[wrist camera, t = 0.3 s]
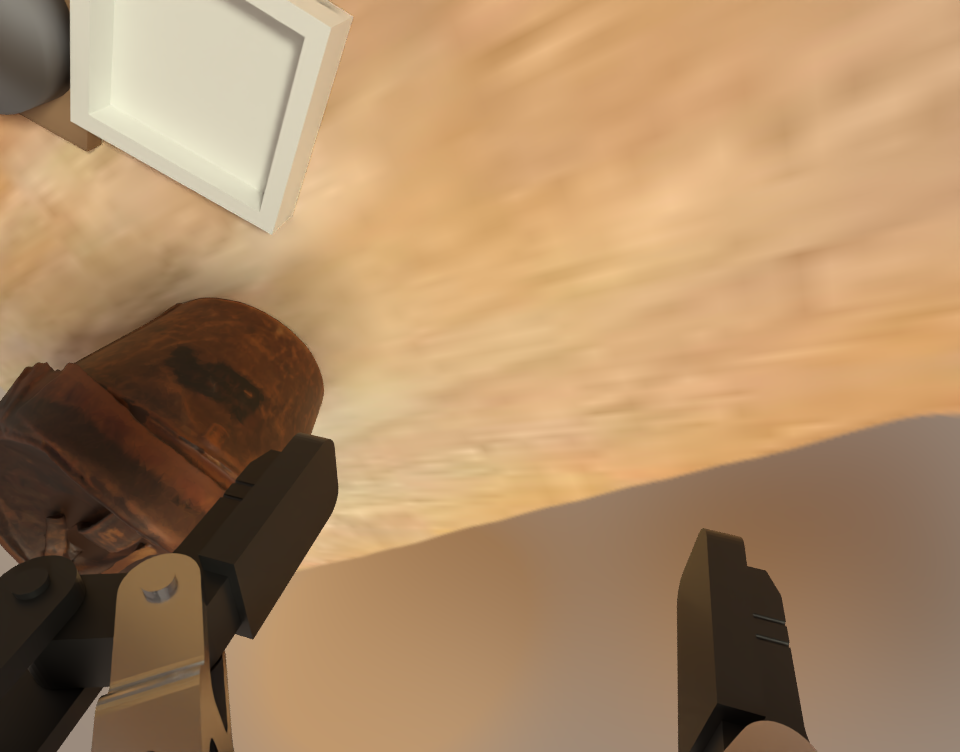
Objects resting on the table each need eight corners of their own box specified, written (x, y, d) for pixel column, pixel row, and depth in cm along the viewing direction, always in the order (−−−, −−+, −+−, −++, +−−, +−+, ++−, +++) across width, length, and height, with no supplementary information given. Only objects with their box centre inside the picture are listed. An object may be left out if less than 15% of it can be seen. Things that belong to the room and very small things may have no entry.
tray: (111, -137, 27) (69, -137, 25) (353, 16, 28) (331, 27, 27) (102, 107, 35) (70, 121, 33) (292, 215, 36) (271, 234, 34)
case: (147, 412, 53) (-24, 598, 40) (114, 213, 40) (-160, 393, 26) (339, 481, 53) (234, 689, 40) (372, 306, 40) (228, 531, 27)
